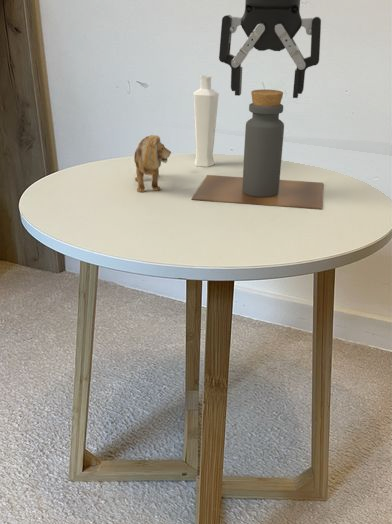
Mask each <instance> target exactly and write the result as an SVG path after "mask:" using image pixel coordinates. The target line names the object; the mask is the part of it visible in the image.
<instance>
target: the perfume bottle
mask: <svg viewBox="0 0 392 524" xmlns="http://www.w3.org/2000/svg"><path fill="white" fill-rule="evenodd" d="M212 78H213V76H211V75H199V80H200V82H199V87H200V88H198V89H196V90H195V91H193V93H192V95H193V114H194V115H193V116H194V138H195V139H194V140H195V157H194V161H193V162H194V166H195V167H205V168H209V167H212V166H213V165H215V160H214V146H215V136H216V125H217V117H218V116H217V115H218V106H219V94H220V93H218V92H217V91H216V90H214V89H212Z"/></svg>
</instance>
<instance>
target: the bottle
mask: <svg viewBox="0 0 392 524" xmlns="http://www.w3.org/2000/svg"><path fill="white" fill-rule="evenodd" d="M250 94H251V103H249V104H248V105H249V106H248V111H249V112H250V113H251V114H252V117H251V118H250V119H248V120H247V121H246V122H245V131H244V148H243V169H242V170H243V171H242V177H243V186H242V191H243V193H244V194H246V195H249V196H254V197H271V196H275V195H277V194H278V191H279V181H280V180H281V169H282V160H283V159H282V158H283V145H284V133H285V123H284V122H283V121H282V120H281V119H279V117H280V114H282V113H283V112H284V104H282V100H283V97H284V96H283V95H284V92H283V91H281V90H276V89H253V90H251V92H250Z"/></svg>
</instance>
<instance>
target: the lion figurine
mask: <svg viewBox="0 0 392 524" xmlns="http://www.w3.org/2000/svg"><path fill="white" fill-rule="evenodd" d="M171 154H172V151H171V150H169V149H168V148H167V147H165V145H164V144H163V143H162V141H161V137H160V136H159V135H153V134H151V135H147V136H145V137H144V138H142V139H141V141H140V142H139V143H138V146H137V148H136V149H135V152H134V157H133V159H134V165H135V167H136V171H135V172H136V177H135V178H134V180H135V181H136V182H137V184H138V185H137V186H138V187H137V188H136V192H137V193H144V192H145V189H146V188H145V183H144V182H145V181H144V176H145V175H146V176H147V175H148V176H152V179H151V188H152V190H153V191H154V192H157V191H158V192H159V191H160V190H162V189H161V186H159V184H158V183H159V176H160V175H159V174H160V172H159V171H160V170H159V168H160V167H161V165H162V163H163V164H167V162H168V158H169V157H171Z"/></svg>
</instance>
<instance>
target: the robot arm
mask: <svg viewBox="0 0 392 524" xmlns="http://www.w3.org/2000/svg"><path fill="white" fill-rule="evenodd" d="M244 3H245V5H244V13H243V15H242V17H241V16H232V14H227V15H224V16H223V17H222V19H221V27H220V39H219V41H220V42H219V53H218V60H219V62H220V63H223V64H226V65H228V66H229V67H230V89H231V92H234V96H237V97H238V96H241V95H242V86H243V66H242V63H243V62H244V60H245V59H246V58H247V57H248V55H249V54H250V53H251V51H252V50H253V49H255V50H257V51H259V52H264V51H265V52H266V51H267V50H268V51H269V50H270V51H273V52H281V51H283V50H286V51H287V54H288V55H289V57H290V58H291V60H292V61H293V63H294V64H295V67H296V68H295V70H294V77H293V78H294V79H293V91H292V98H293V99H298V98H299V95H302V94H303V92H304V86H305V77H306V70H307V69H309V68H312V67H313V66H317V65H318V64H319V63H320V55H321V52H320V51H321V35H322V34H321V31H322V18H320V17H319V16H314V17H308V18H302V16H301V13H300V10H301V0H245V1H244ZM239 26H241V28H242V30H243V32H244V33H245V35H246V37H247V39H246V40H245V41H244V42H243V44H242V45H241V47H240V49H239V50H238V51H237V53H236V54H235V55H233V54H231V45H232V35H233V34H234V33H236V32H237V30H238V27H239ZM302 27H303V28H304V29H305V33H306V35H307V36H310V56H307V57H304V55H303V54H302V52H301V50H300V48H299V47H298V44H297V43H296V41H295V39H294V38H295V36H296V35H297V33H298V32H299V31H300V30H301V28H302Z"/></svg>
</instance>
